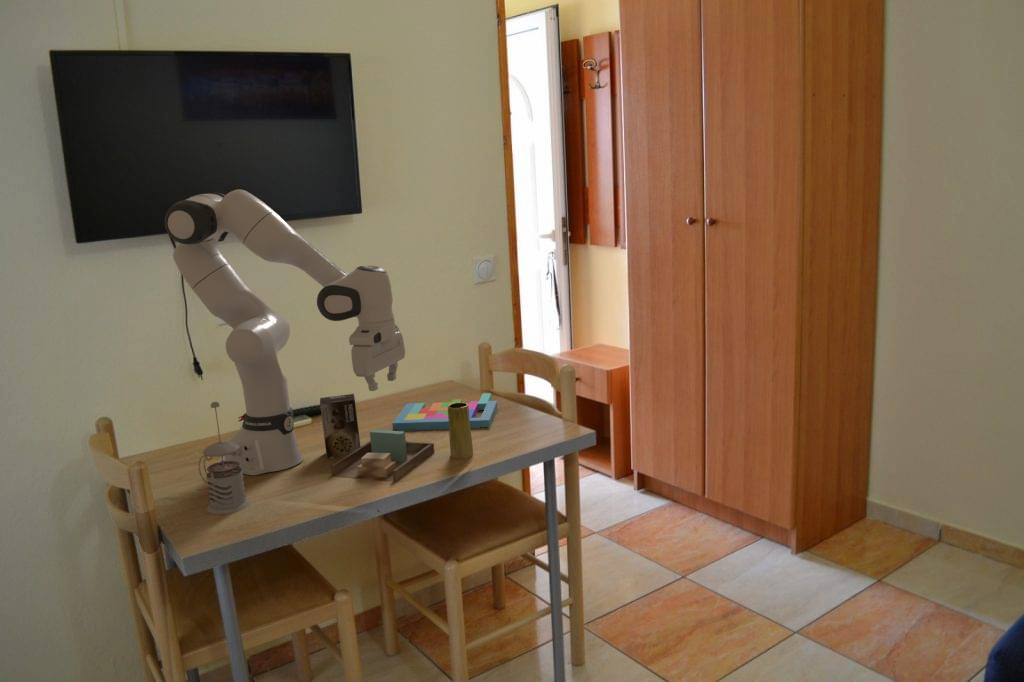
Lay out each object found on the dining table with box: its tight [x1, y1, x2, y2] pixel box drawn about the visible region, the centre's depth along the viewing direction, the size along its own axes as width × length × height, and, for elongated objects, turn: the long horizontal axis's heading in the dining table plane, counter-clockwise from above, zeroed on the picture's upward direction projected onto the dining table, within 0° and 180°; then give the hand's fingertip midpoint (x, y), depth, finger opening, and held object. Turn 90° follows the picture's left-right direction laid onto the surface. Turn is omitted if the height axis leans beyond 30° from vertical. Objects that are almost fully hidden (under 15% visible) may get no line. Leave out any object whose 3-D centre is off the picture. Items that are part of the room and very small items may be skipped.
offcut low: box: [357, 462, 397, 478], centre depth 212 cm, size 8×5×2 cm, turn 69°
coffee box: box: [319, 393, 362, 460], centre depth 227 cm, size 9×6×16 cm
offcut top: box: [361, 453, 391, 467], centre depth 212 cm, size 6×4×2 cm, turn 77°
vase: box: [448, 401, 474, 460], centre depth 220 cm, size 6×6×14 cm
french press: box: [197, 401, 252, 515], centre depth 198 cm, size 10×12×25 cm
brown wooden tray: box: [330, 440, 435, 483], centre depth 218 cm, size 18×21×4 cm
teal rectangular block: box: [369, 429, 407, 462], centre depth 220 cm, size 9×2×8 cm, turn 69°
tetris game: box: [391, 392, 498, 431], centre depth 260 cm, size 28×3×28 cm
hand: (383, 385), depth 217 cm, fingers open, 8 cm apart
